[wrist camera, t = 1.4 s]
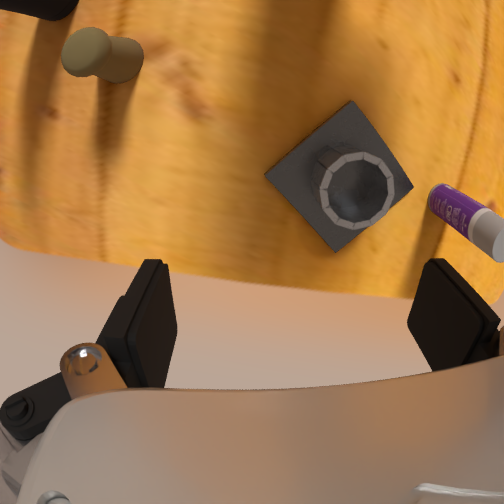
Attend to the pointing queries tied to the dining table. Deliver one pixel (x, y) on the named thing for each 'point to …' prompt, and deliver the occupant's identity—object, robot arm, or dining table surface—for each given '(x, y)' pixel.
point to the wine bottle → (40, 8)
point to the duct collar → (341, 177)
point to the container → (469, 219)
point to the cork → (101, 55)
